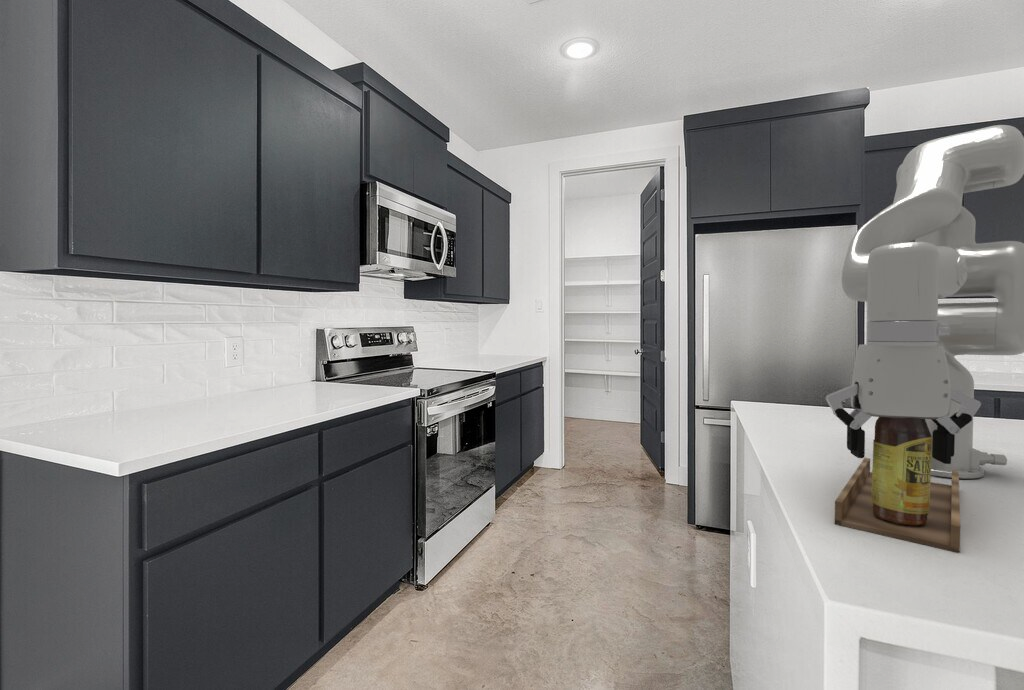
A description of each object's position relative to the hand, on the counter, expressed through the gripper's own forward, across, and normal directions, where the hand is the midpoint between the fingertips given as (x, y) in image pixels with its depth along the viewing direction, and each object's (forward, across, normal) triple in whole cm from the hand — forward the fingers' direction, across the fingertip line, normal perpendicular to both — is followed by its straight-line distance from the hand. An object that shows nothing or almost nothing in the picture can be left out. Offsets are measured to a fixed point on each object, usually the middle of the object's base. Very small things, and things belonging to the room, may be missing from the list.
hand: (898, 458), depth 65 cm
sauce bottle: (+9, 0, 0) cm, 9 cm away
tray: (+9, -4, -8) cm, 13 cm away
